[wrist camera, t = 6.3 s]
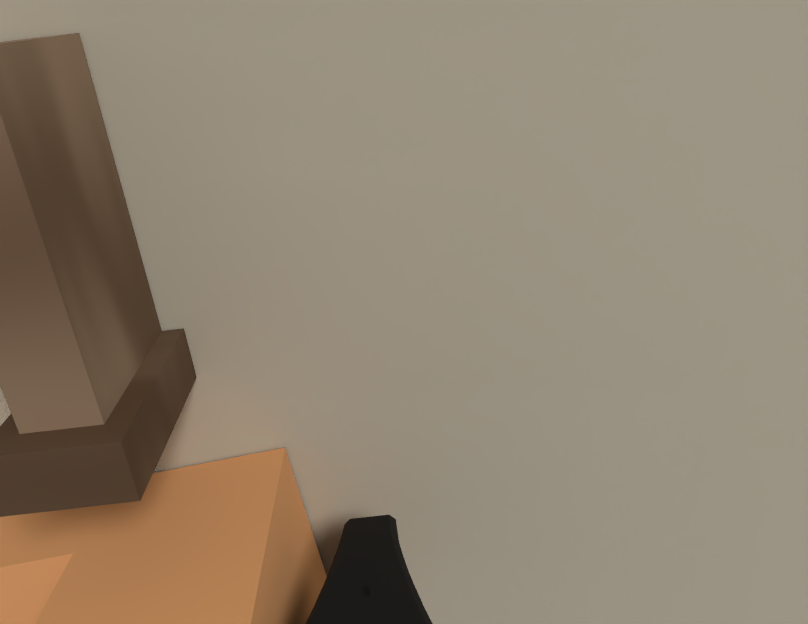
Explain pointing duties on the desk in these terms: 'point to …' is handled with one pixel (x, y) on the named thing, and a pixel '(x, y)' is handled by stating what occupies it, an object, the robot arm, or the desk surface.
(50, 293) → the frame
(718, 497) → the desk surface
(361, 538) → the robot arm
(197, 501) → the doorstop wedge
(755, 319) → the desk surface
